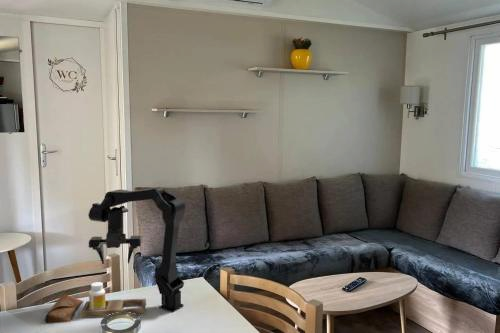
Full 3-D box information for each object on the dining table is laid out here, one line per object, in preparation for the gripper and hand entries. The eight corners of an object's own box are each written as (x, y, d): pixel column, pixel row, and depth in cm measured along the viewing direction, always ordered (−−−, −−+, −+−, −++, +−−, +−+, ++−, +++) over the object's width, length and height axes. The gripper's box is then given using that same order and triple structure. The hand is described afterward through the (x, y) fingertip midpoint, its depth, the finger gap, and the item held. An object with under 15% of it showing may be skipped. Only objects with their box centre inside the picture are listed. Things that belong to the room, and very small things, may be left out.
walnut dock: (145, 303, 163) (145, 298, 162) (144, 314, 154) (144, 308, 154) (86, 306, 159) (86, 301, 159) (81, 317, 150) (81, 312, 150)
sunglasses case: (71, 322, 147) (60, 305, 146) (52, 333, 146) (41, 316, 145) (84, 300, 165) (75, 285, 164) (68, 310, 164) (58, 295, 163)
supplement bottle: (108, 308, 157) (108, 282, 156) (98, 314, 152) (98, 287, 151) (96, 306, 159) (95, 280, 158) (86, 312, 154) (85, 285, 153)
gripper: (85, 229, 156) (86, 271, 158) (139, 228, 159) (139, 269, 161) (91, 221, 167) (91, 261, 169) (141, 221, 170) (141, 260, 172)
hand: (116, 263), depth 167 cm, fingers open, 9 cm apart
